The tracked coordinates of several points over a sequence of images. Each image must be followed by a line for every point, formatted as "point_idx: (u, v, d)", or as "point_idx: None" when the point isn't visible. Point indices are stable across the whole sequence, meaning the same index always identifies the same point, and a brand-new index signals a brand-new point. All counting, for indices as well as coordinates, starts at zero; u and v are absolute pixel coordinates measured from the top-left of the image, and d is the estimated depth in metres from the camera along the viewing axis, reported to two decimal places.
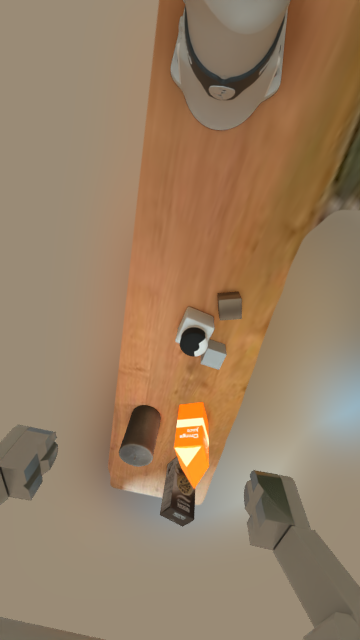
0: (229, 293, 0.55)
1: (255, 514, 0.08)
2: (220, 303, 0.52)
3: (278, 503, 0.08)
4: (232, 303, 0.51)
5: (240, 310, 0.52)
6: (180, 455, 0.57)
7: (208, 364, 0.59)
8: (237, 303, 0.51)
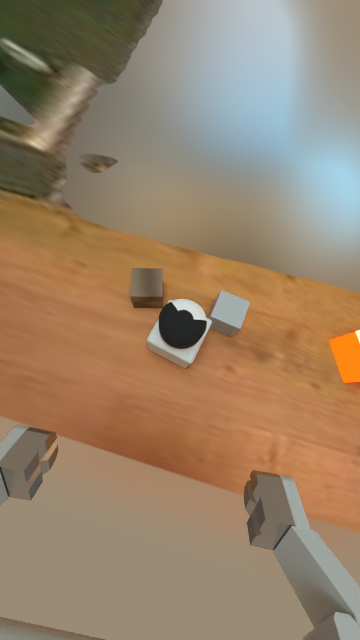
0: None
1: (255, 514, 0.08)
2: (135, 294, 0.36)
3: (278, 503, 0.08)
4: (137, 279, 0.37)
5: (149, 269, 0.37)
6: None
7: (241, 317, 0.36)
8: (138, 273, 0.37)
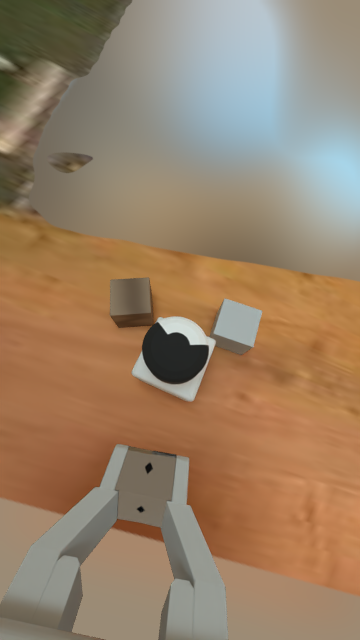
0: None
1: None
2: (116, 312, 0.28)
3: (163, 480, 0.08)
4: (118, 293, 0.29)
5: (132, 280, 0.30)
6: None
7: (252, 331, 0.28)
8: (119, 285, 0.29)
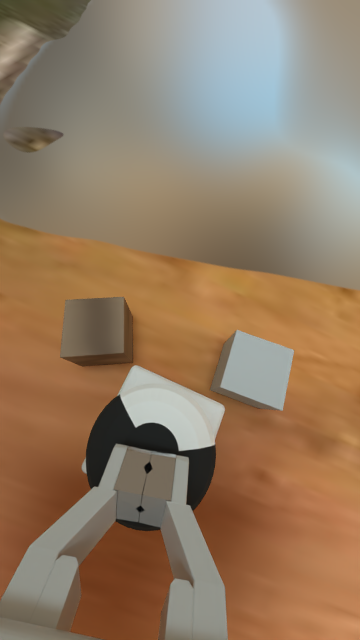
0: None
1: None
2: (70, 352, 0.18)
3: (162, 480, 0.08)
4: (76, 320, 0.19)
5: (99, 300, 0.20)
6: None
7: (280, 383, 0.18)
8: (78, 308, 0.20)
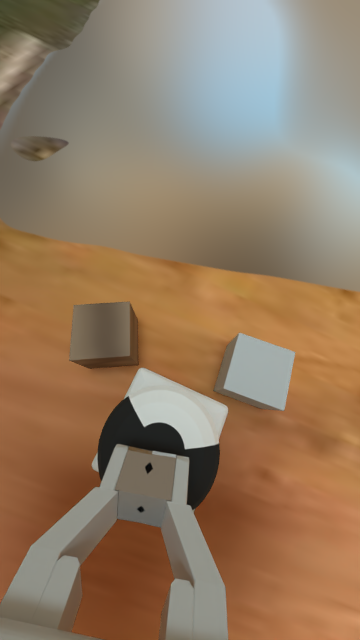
0: None
1: None
2: (79, 355, 0.19)
3: (163, 480, 0.08)
4: (84, 325, 0.20)
5: (106, 305, 0.21)
6: None
7: (282, 384, 0.19)
8: (85, 313, 0.20)
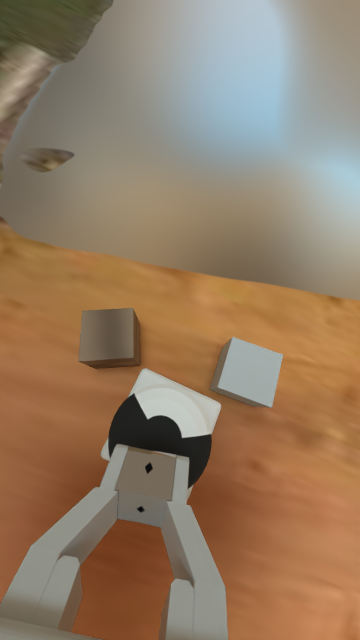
0: None
1: None
2: (87, 356, 0.21)
3: (163, 480, 0.08)
4: (91, 329, 0.22)
5: (111, 311, 0.23)
6: None
7: (270, 384, 0.21)
8: (93, 318, 0.22)
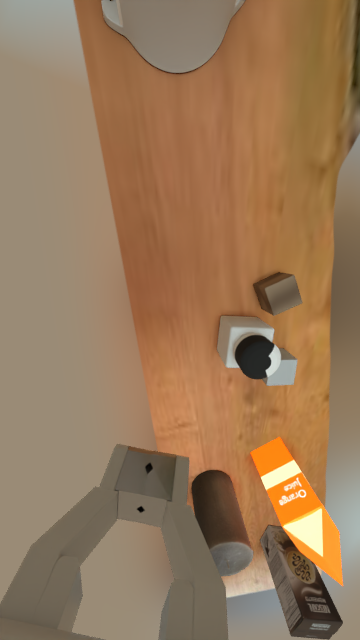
0: (269, 278, 0.40)
1: None
2: (268, 292, 0.36)
3: (163, 480, 0.08)
4: (284, 286, 0.36)
5: (297, 292, 0.37)
6: (299, 536, 0.36)
7: (277, 382, 0.41)
8: (290, 283, 0.36)
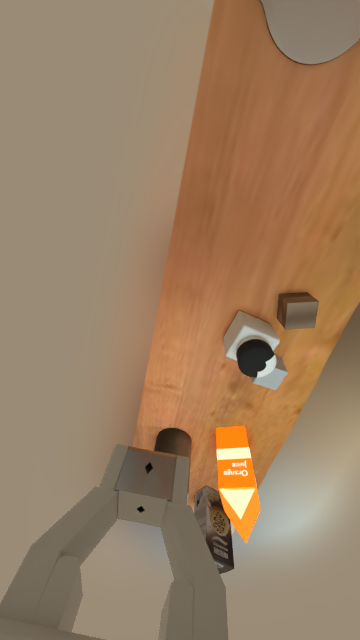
0: (296, 294, 0.42)
1: None
2: (289, 307, 0.39)
3: (163, 480, 0.08)
4: (305, 307, 0.39)
5: (314, 317, 0.40)
6: (228, 500, 0.45)
7: (262, 384, 0.47)
8: (312, 307, 0.39)
